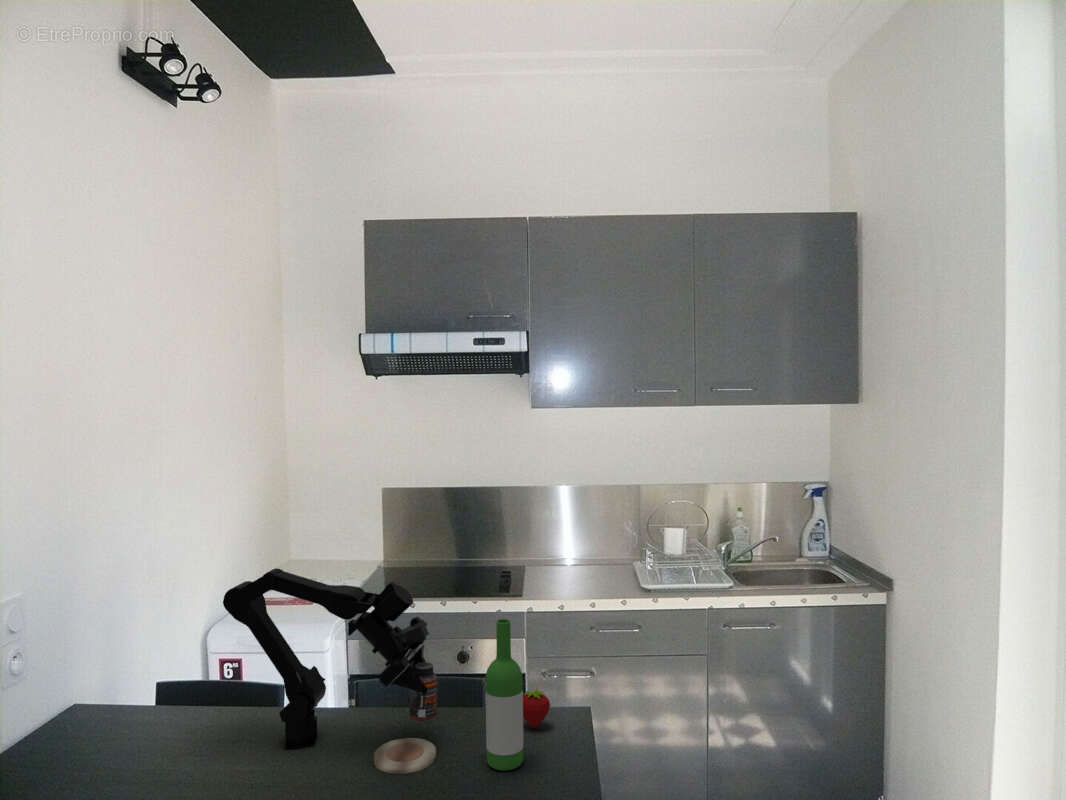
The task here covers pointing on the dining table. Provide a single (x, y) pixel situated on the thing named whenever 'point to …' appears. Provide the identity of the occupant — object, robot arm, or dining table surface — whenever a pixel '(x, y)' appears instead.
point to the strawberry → (535, 707)
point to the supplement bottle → (424, 704)
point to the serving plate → (404, 755)
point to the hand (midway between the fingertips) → (429, 686)
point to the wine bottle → (504, 705)
